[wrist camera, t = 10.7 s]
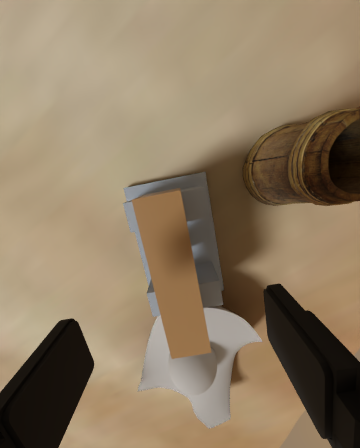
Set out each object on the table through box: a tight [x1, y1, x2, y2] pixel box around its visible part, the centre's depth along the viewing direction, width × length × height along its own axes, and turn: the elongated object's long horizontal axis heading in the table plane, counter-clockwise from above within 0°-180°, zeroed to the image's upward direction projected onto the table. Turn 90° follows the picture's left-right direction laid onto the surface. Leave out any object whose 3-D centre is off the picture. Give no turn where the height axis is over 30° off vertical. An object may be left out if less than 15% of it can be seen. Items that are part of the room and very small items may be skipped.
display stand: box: [123, 172, 224, 317], centre depth 22 cm, size 16×10×6 cm, turn 11°
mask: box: [137, 306, 262, 428], centre depth 26 cm, size 20×8×15 cm
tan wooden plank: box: [132, 188, 212, 359], centre depth 17 cm, size 14×4×5 cm, turn 11°
